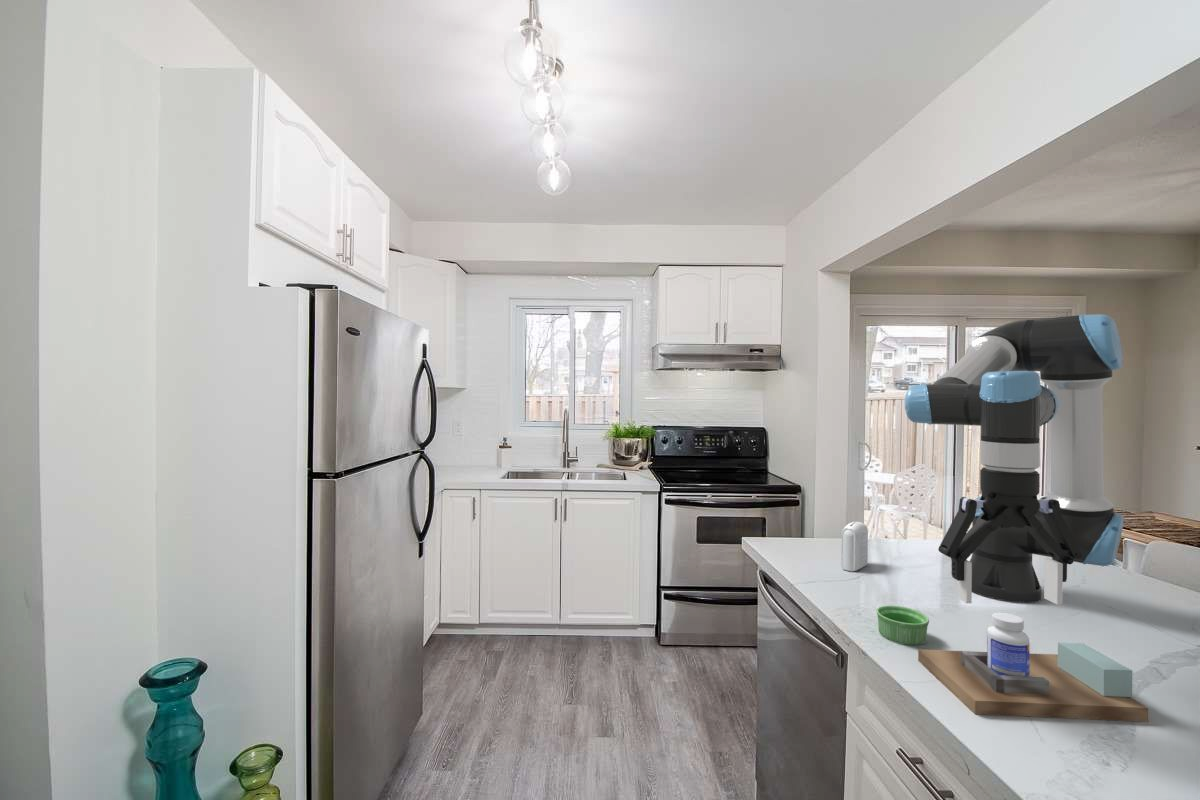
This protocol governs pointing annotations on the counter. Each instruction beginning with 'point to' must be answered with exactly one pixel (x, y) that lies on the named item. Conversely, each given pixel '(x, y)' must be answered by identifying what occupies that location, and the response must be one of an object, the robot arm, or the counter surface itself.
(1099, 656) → the pale blue rectangular block
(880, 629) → the ramekin
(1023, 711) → the cradle
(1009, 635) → the pill bottle
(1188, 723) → the counter surface
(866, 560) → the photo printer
